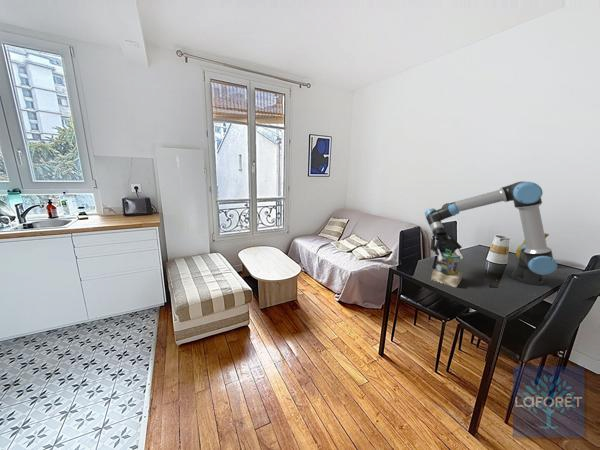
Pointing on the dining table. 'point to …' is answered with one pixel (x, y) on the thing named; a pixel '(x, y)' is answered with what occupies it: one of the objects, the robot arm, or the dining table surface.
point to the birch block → (447, 278)
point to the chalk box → (448, 263)
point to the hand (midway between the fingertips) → (451, 259)
